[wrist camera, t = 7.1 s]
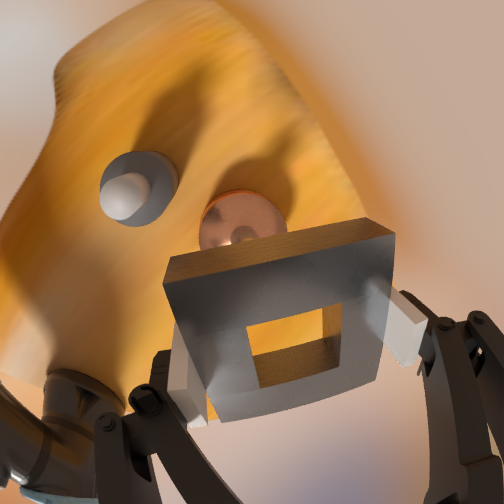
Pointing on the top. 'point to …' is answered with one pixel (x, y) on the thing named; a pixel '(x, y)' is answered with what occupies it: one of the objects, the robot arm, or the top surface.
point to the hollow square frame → (284, 314)
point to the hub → (239, 219)
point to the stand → (138, 187)
